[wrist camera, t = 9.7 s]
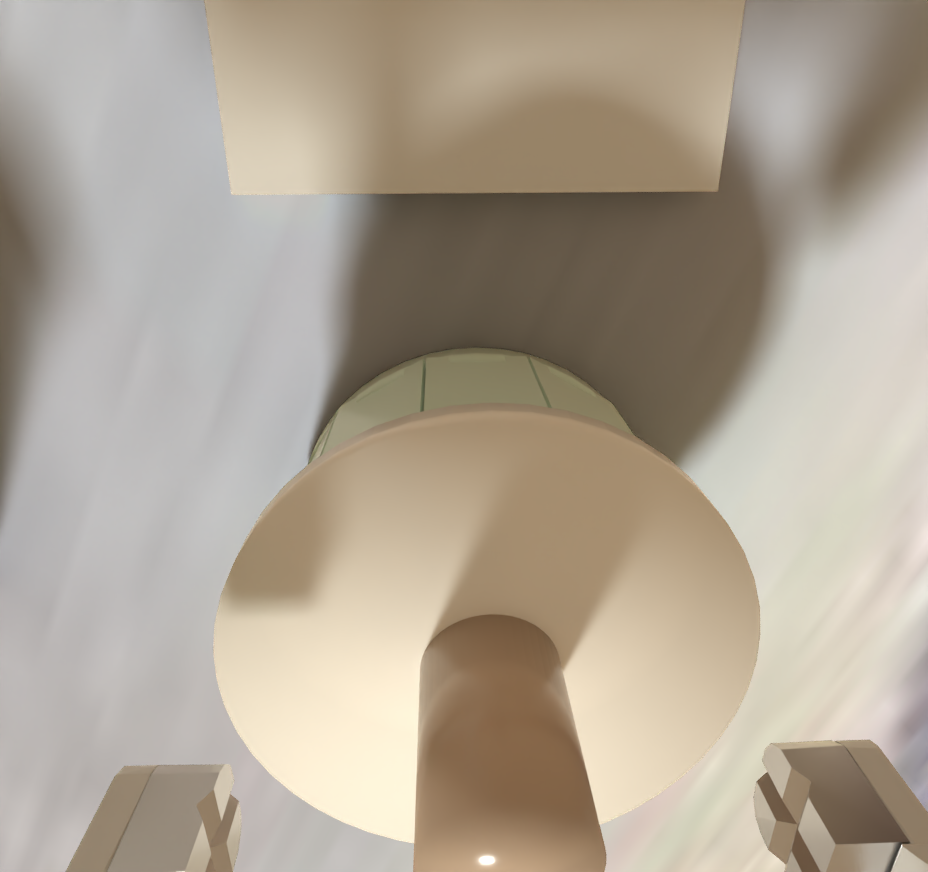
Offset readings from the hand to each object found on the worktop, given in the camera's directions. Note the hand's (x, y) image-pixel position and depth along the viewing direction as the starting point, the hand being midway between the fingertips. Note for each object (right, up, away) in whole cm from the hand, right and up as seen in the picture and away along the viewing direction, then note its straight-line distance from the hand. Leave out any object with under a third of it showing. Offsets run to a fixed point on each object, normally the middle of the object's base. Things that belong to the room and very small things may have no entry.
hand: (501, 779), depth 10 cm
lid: (0, +1, +3) cm, 3 cm away
